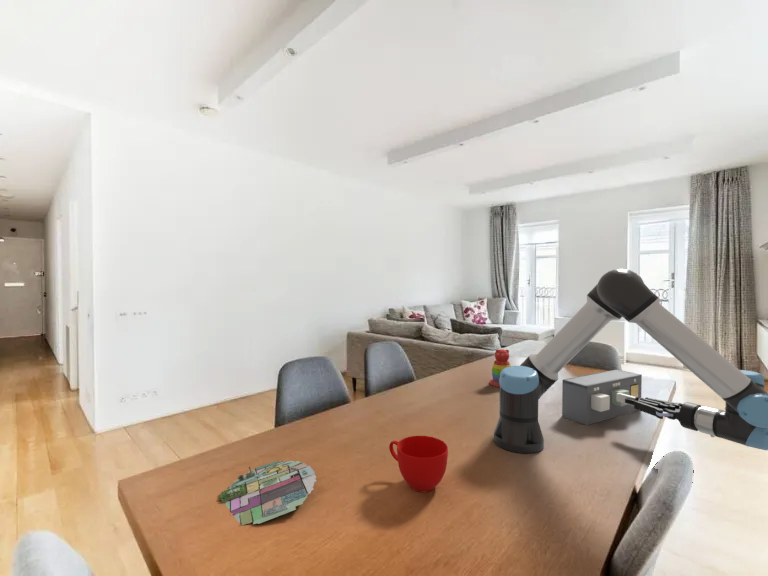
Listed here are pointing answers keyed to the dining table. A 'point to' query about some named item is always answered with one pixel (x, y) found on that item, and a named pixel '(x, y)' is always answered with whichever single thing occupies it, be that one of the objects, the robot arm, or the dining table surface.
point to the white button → (600, 402)
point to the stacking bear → (499, 365)
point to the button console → (582, 387)
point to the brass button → (634, 390)
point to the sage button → (613, 396)
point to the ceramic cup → (421, 461)
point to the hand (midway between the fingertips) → (617, 396)
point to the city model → (269, 491)
